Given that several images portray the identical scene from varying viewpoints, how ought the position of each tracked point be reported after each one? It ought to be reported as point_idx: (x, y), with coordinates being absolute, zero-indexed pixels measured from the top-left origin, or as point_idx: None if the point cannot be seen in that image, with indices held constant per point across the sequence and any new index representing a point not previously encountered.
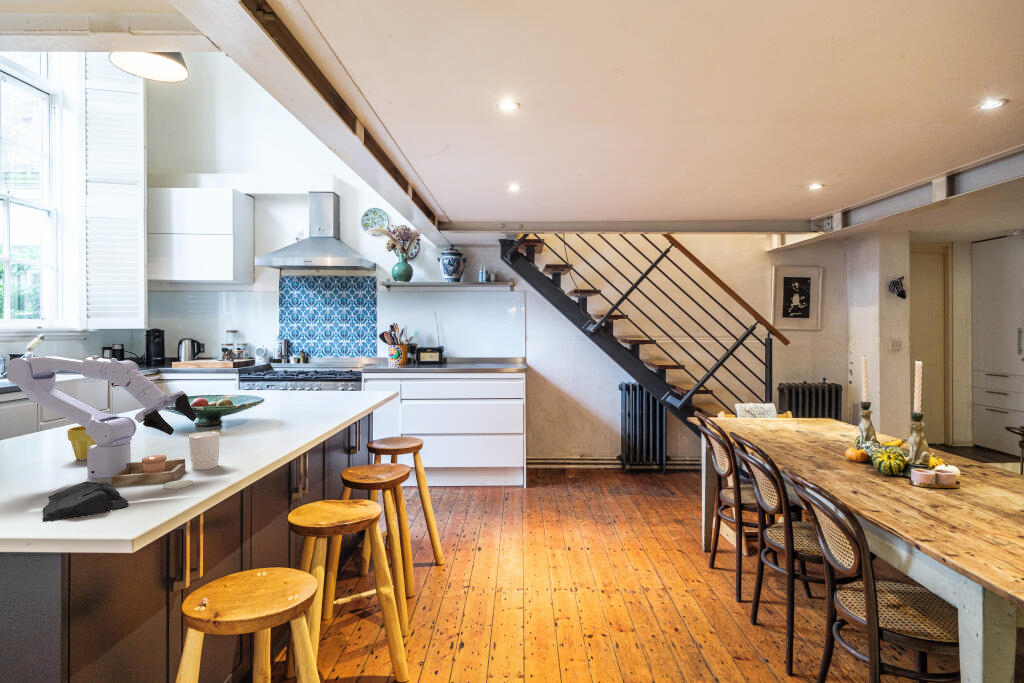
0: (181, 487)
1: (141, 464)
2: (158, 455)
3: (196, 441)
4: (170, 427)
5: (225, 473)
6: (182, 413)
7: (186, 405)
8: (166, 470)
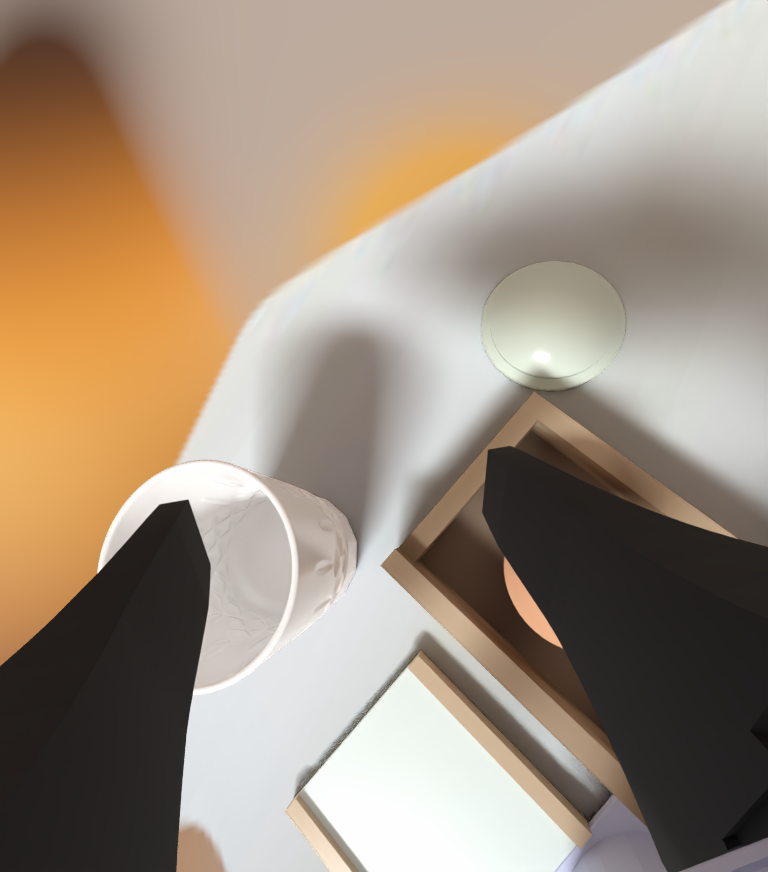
0: (563, 268)
1: (586, 729)
2: (536, 608)
3: (299, 515)
4: (523, 461)
5: (313, 380)
6: (182, 765)
7: (84, 655)
8: (471, 608)
